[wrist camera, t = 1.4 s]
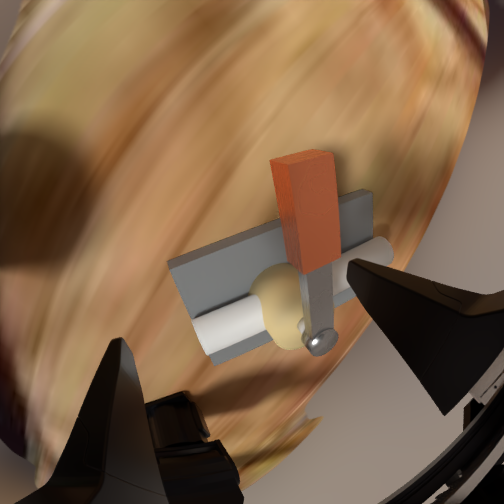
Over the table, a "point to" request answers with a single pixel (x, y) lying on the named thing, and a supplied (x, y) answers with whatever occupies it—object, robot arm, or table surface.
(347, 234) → the valve base
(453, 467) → the robot arm
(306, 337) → the valve lever
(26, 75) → the table surface
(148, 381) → the table surface
